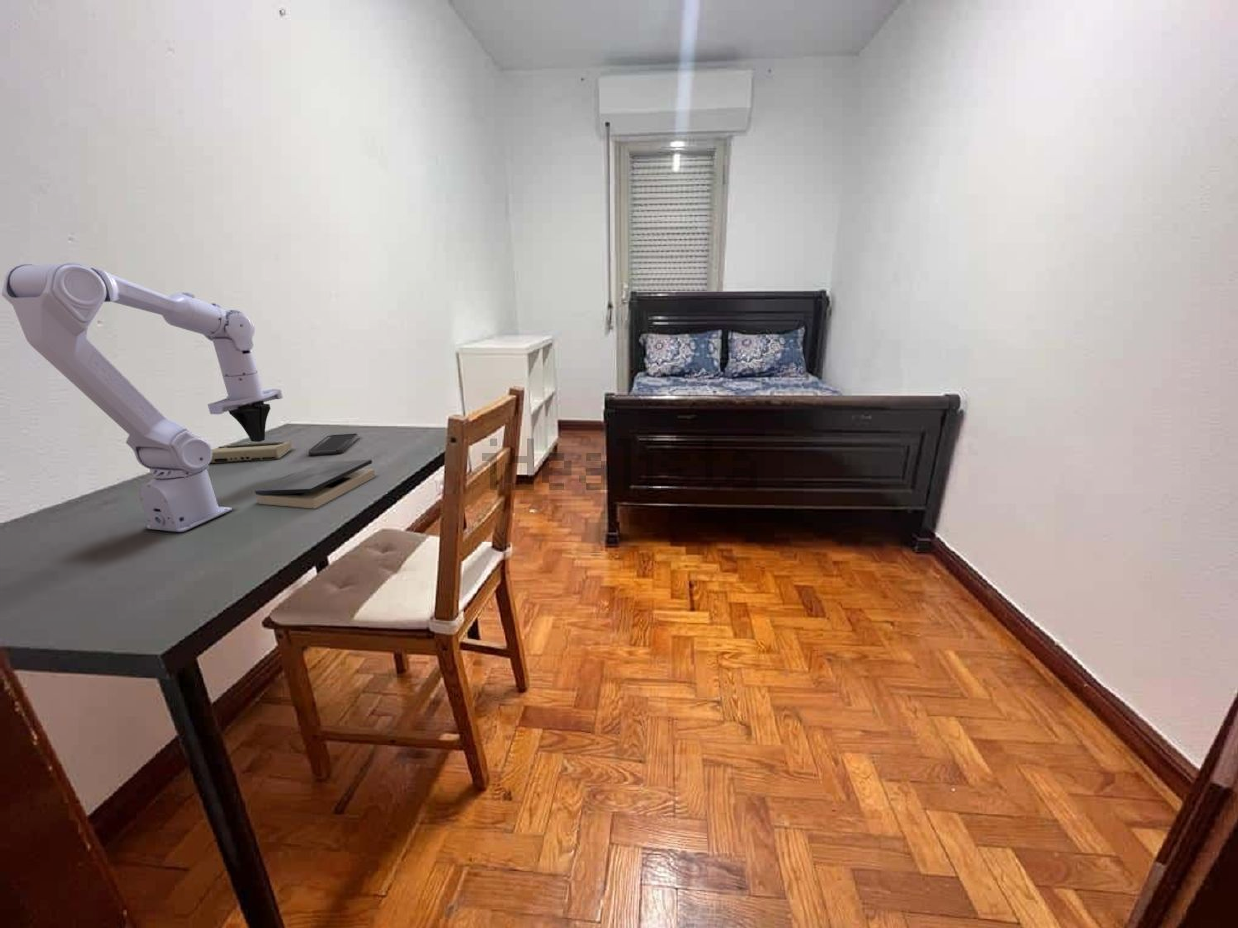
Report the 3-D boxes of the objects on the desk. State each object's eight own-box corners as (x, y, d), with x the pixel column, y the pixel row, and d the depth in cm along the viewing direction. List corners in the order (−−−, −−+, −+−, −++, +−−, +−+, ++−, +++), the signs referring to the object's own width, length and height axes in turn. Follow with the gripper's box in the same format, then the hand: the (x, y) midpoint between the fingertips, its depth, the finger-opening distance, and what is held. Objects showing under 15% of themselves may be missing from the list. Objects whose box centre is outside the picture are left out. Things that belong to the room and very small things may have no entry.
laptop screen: (372, 463, 111) (371, 459, 111) (311, 493, 95) (310, 488, 95) (322, 465, 114) (321, 462, 114) (256, 495, 99) (254, 490, 98)
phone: (306, 451, 127) (328, 435, 141) (307, 456, 127) (329, 439, 141) (340, 449, 128) (359, 433, 142) (341, 453, 128) (360, 436, 142)
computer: (292, 449, 133) (289, 437, 132) (278, 459, 125) (275, 446, 124) (226, 454, 131) (222, 441, 129) (207, 464, 123) (203, 451, 122)
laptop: (375, 476, 112) (373, 468, 111) (315, 508, 96) (313, 499, 96) (324, 473, 115) (322, 465, 114) (258, 503, 99) (256, 494, 99)
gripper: (256, 368, 108) (271, 430, 113) (187, 380, 95) (208, 450, 99) (283, 368, 107) (298, 431, 111) (218, 380, 93) (238, 452, 98)
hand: (258, 440), depth 105 cm, fingers closed
